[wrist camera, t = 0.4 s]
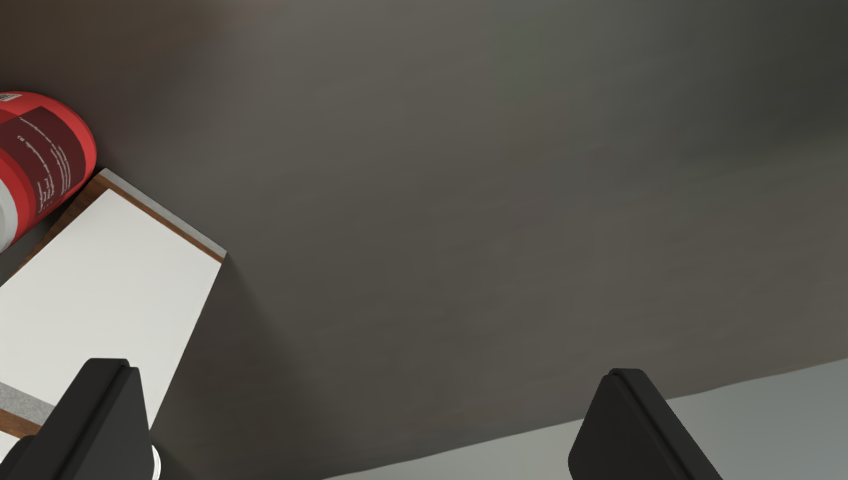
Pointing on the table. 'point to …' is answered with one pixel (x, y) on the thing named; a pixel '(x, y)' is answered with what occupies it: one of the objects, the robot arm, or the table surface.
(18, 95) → the canned food
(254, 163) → the table surface
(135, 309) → the white shelf unit
